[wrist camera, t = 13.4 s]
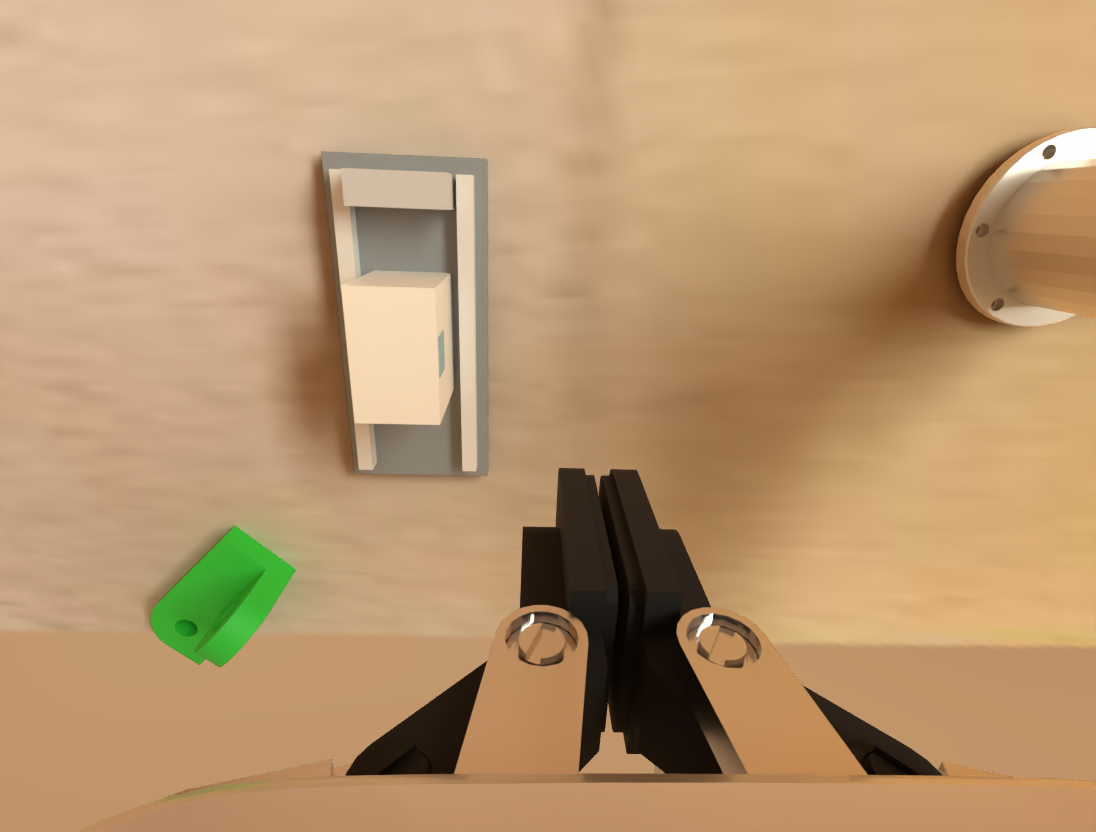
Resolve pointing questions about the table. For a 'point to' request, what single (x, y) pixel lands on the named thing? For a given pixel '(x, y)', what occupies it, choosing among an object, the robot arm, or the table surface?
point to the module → (399, 346)
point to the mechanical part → (221, 599)
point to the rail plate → (418, 246)
